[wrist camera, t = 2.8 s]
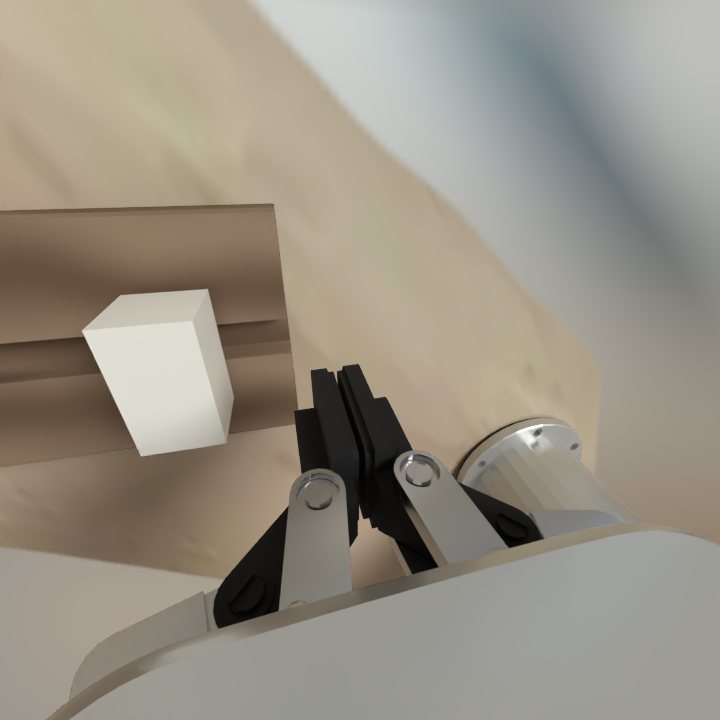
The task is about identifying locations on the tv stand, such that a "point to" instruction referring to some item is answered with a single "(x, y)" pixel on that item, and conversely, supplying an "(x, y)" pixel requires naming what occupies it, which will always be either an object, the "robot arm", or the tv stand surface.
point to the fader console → (124, 277)
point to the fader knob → (165, 369)
